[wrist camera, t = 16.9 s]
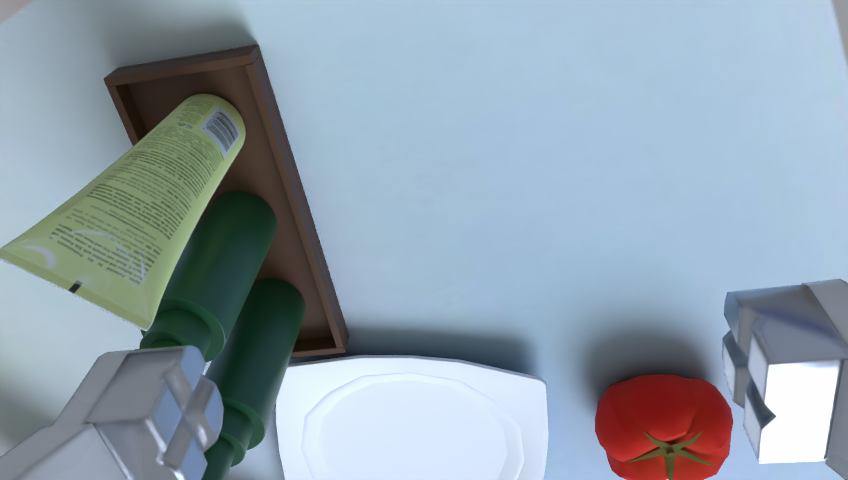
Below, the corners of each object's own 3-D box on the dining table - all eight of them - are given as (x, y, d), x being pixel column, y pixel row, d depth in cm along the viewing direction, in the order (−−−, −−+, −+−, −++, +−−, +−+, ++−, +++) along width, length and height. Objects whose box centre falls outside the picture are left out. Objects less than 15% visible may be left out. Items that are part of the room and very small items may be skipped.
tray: (116, 68, 48) (102, 78, 46) (258, 44, 46) (249, 54, 45) (235, 347, 61) (228, 364, 59) (349, 336, 60) (345, 352, 58)
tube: (182, 162, 51) (40, 341, 35) (157, 96, 48) (-10, 256, 32) (257, 153, 50) (148, 332, 34) (235, 85, 47) (106, 244, 31)
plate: (268, 336, 60) (260, 357, 58) (558, 349, 59) (561, 371, 57) (296, 516, 73) (290, 539, 71) (533, 530, 72) (534, 554, 70)
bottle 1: (199, 195, 52) (76, 374, 36) (265, 186, 51) (169, 365, 36) (222, 252, 55) (117, 443, 39) (285, 245, 54) (205, 436, 38)
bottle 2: (234, 281, 56) (137, 476, 41) (295, 274, 56) (222, 470, 40) (253, 331, 59) (170, 532, 43) (313, 325, 58) (250, 528, 42)
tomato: (715, 436, 63) (738, 498, 58) (590, 441, 64) (601, 502, 59) (725, 353, 58) (751, 413, 52) (589, 361, 59) (600, 420, 54)
